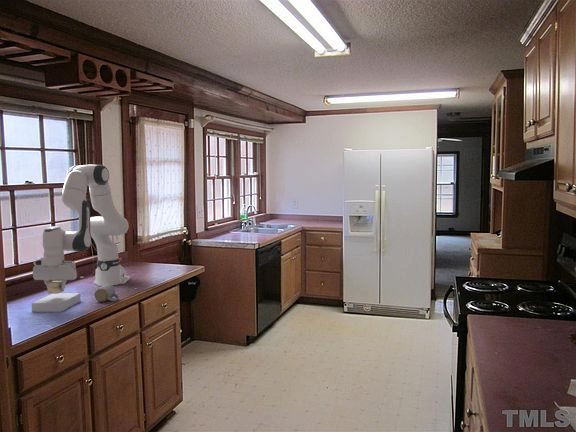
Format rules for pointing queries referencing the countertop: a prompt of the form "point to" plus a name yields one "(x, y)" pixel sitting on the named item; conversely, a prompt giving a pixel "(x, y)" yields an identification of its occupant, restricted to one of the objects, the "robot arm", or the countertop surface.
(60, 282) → the birch cube
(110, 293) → the ceramic mug
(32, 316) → the countertop surface
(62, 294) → the grey platform
